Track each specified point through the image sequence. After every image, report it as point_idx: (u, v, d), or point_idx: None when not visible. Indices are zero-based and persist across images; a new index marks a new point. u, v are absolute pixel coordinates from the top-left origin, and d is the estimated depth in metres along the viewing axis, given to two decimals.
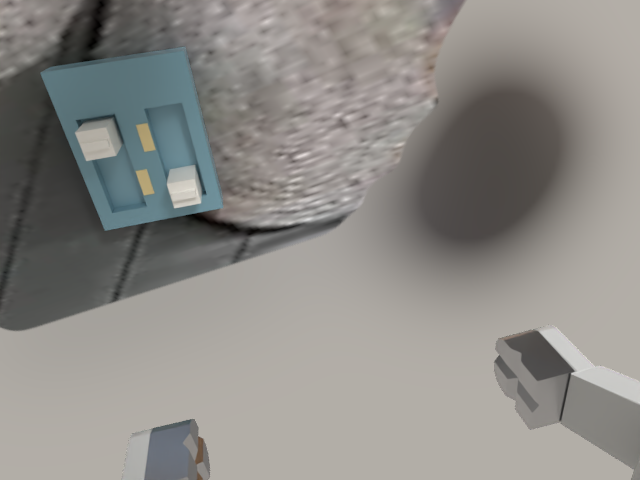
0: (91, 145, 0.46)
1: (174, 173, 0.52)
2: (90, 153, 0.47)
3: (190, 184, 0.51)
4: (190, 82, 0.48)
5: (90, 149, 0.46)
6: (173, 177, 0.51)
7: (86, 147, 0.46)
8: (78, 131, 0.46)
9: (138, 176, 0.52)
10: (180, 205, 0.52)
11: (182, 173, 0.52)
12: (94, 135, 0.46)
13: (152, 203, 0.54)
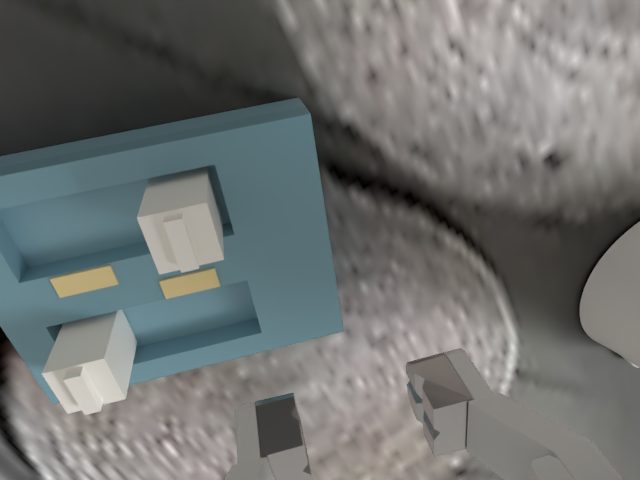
0: (182, 240, 0.20)
1: (118, 331, 0.26)
2: (158, 227, 0.20)
3: (110, 394, 0.24)
4: (295, 341, 0.29)
5: (172, 238, 0.20)
6: (114, 345, 0.24)
7: (176, 231, 0.20)
8: (208, 205, 0.20)
9: (98, 271, 0.24)
10: (52, 383, 0.23)
11: (123, 349, 0.26)
12: (202, 238, 0.21)
13: (30, 293, 0.24)
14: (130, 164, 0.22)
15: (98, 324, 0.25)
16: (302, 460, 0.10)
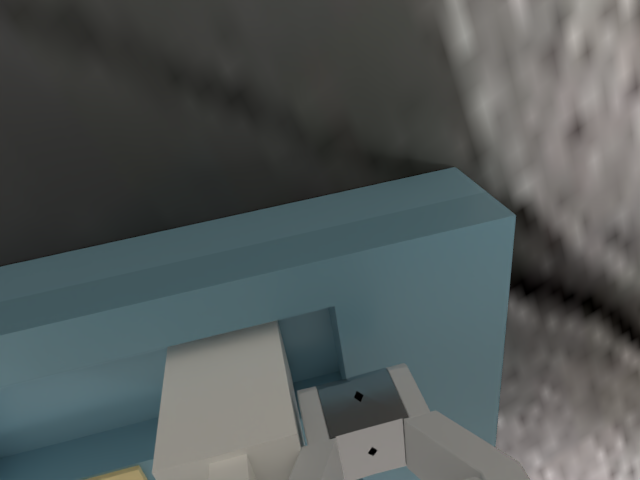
0: None
1: None
2: None
3: None
4: None
5: None
6: None
7: None
8: None
9: (118, 478, 0.14)
10: None
11: None
12: None
13: None
14: (182, 315, 0.11)
15: None
16: (369, 443, 0.10)
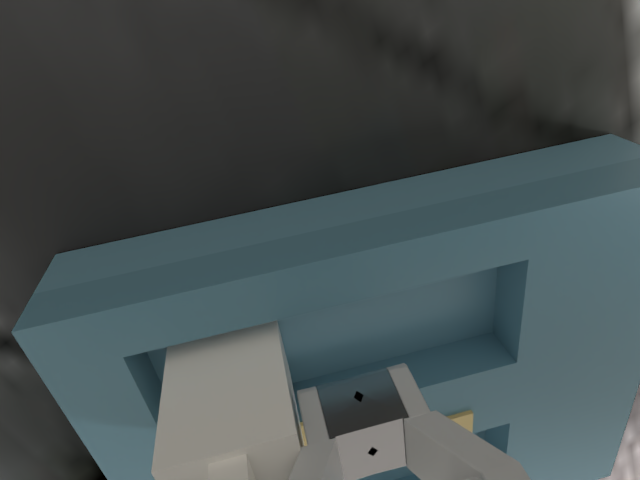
0: None
1: None
2: None
3: None
4: None
5: None
6: None
7: None
8: (296, 431, 0.10)
9: (301, 429, 0.14)
10: None
11: None
12: None
13: None
14: (396, 265, 0.12)
15: None
16: (368, 443, 0.10)
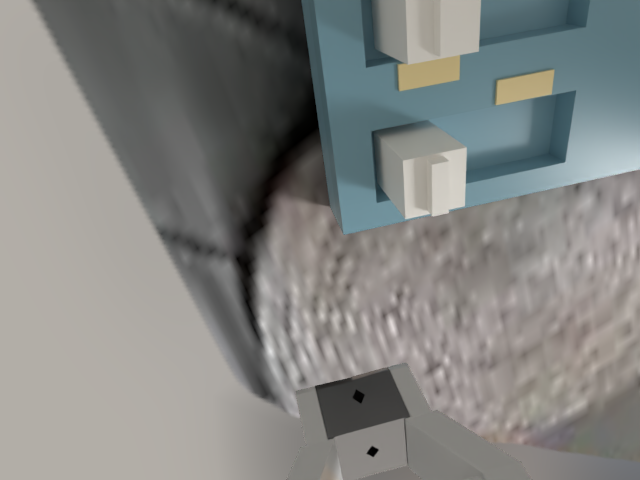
0: (454, 9, 0.17)
1: None
2: None
3: (454, 198, 0.22)
4: (591, 178, 0.27)
5: (444, 4, 0.17)
6: None
7: None
8: None
9: (447, 59, 0.21)
10: (408, 175, 0.21)
11: None
12: (464, 18, 0.18)
13: (372, 83, 0.21)
14: None
15: (423, 131, 0.23)
16: (367, 443, 0.10)
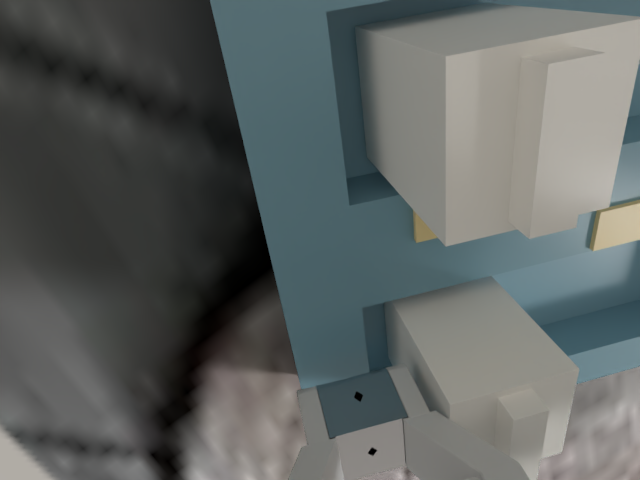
0: (576, 133, 0.06)
1: None
2: (491, 96, 0.07)
3: (543, 445, 0.11)
4: None
5: (552, 123, 0.06)
6: None
7: (571, 101, 0.06)
8: None
9: None
10: None
11: None
12: None
13: (362, 231, 0.11)
14: None
15: (475, 298, 0.12)
16: (368, 443, 0.10)
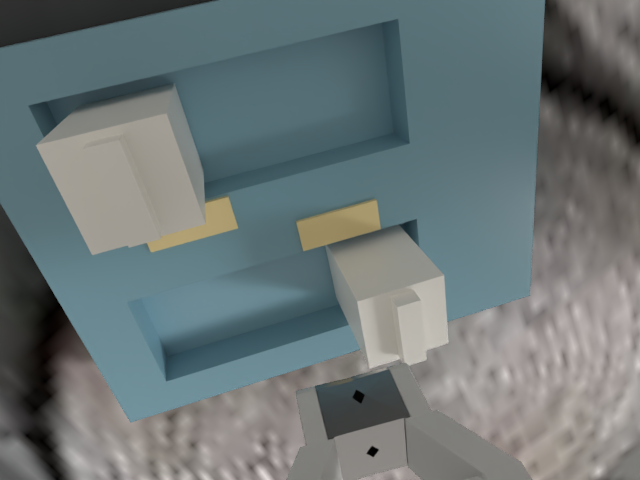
0: (125, 184, 0.11)
1: None
2: (79, 164, 0.11)
3: (432, 336, 0.16)
4: (465, 313, 0.20)
5: (105, 180, 0.11)
6: None
7: (111, 166, 0.11)
8: (170, 122, 0.11)
9: (211, 206, 0.15)
10: (366, 317, 0.15)
11: None
12: (163, 185, 0.12)
13: None
14: (272, 15, 0.13)
15: (387, 241, 0.17)
16: (367, 443, 0.10)
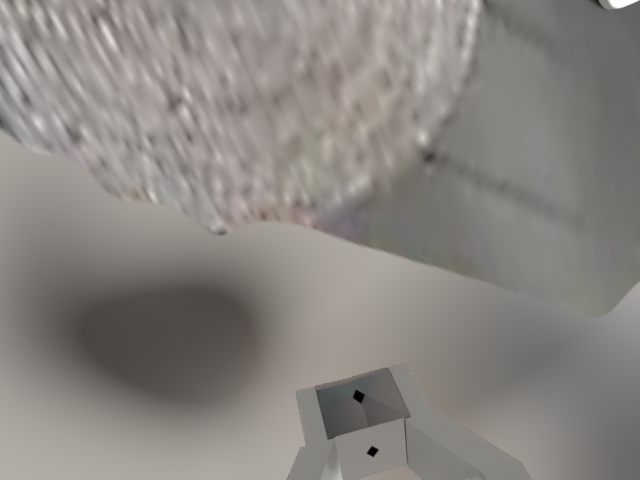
0: None
1: None
2: None
3: None
4: None
5: None
6: None
7: None
8: None
9: None
10: None
11: None
12: None
13: None
14: None
15: None
16: (367, 443, 0.10)
